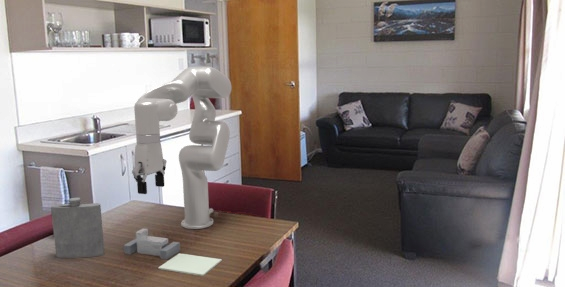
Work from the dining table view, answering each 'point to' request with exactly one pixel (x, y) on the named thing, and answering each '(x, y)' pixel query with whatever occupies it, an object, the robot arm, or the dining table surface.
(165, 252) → the vise jaws
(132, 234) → the dining table surface
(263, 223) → the dining table surface
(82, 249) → the hip flask
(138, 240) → the white pedestal stand
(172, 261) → the mat
